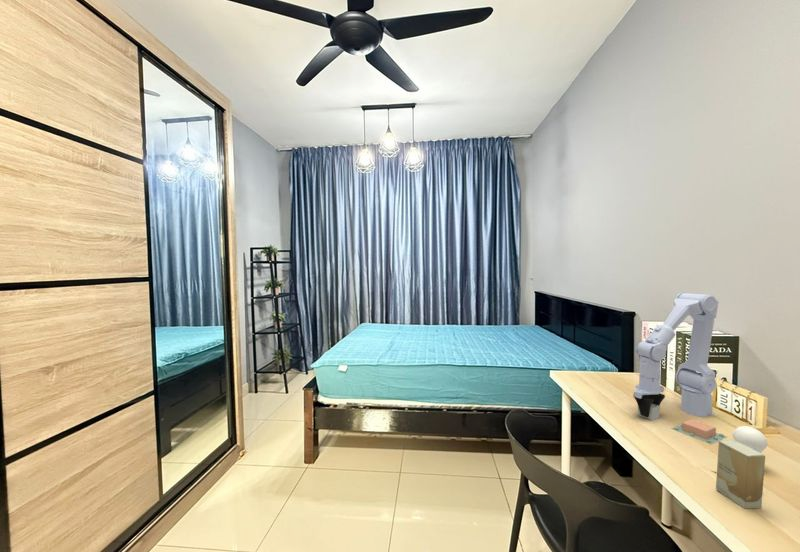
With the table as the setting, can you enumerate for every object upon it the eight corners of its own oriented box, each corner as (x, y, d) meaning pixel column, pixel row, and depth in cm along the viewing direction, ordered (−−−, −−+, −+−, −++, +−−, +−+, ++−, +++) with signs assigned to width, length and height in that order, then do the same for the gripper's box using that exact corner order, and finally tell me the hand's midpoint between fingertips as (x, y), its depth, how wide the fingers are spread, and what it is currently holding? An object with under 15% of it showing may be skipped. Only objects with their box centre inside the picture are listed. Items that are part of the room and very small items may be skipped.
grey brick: (645, 414, 114) (645, 401, 114) (659, 420, 110) (659, 406, 110) (637, 417, 112) (638, 403, 112) (652, 422, 108) (652, 408, 108)
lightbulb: (773, 477, 80) (775, 434, 79) (744, 474, 81) (746, 432, 81) (752, 462, 86) (753, 423, 85) (725, 459, 87) (726, 420, 87)
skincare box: (714, 489, 75) (716, 439, 75) (731, 488, 76) (732, 438, 75) (746, 510, 69) (748, 455, 68) (764, 509, 69) (766, 454, 69)
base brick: (691, 426, 104) (691, 418, 104) (715, 435, 98) (715, 427, 98) (681, 430, 101) (682, 422, 101) (706, 439, 96) (706, 431, 96)
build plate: (687, 424, 106) (687, 420, 106) (727, 439, 97) (727, 435, 97) (671, 431, 102) (671, 427, 102) (711, 447, 93) (711, 442, 93)
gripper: (648, 370, 117) (647, 406, 117) (624, 375, 111) (623, 413, 111) (671, 376, 111) (670, 414, 111) (647, 382, 105) (646, 422, 105)
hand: (648, 414), depth 111 cm, fingers closed on grey brick, 4 cm apart
